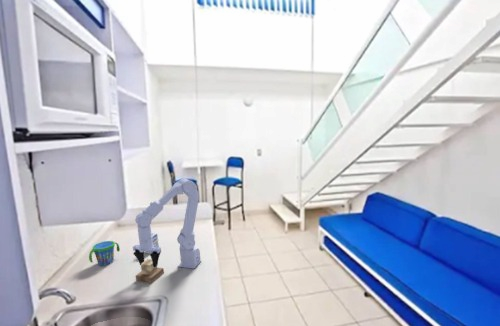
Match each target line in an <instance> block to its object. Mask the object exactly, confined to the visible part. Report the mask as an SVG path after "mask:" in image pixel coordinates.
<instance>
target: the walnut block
mask: <svg viewBox="0 0 500 326" xmlns="http://www.w3.org/2000/svg"><path fill="white" fill-rule="evenodd" d="M164 274H165V270H164V268H163V267H158V266H157V270H156V271H155V272H154V273H153V274H152V275H145V274H142V271H139V272H138V273H137V274H136V275H135V281H136V282H141V283H148V284H154V282H156V281H157V280H158V279H159V278H160V277H162V275H164Z"/></svg>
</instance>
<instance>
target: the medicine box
mask: <svg viewBox="0 0 500 326" xmlns="http://www.w3.org/2000/svg"><path fill="white" fill-rule="evenodd" d="M151 234H152V242H153V245H154V246H157V247H160V245H159V239H158V233H151ZM152 253H153V252H149V251H146V252H144V254H152Z"/></svg>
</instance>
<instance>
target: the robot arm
mask: <svg viewBox="0 0 500 326" xmlns="http://www.w3.org/2000/svg"><path fill="white" fill-rule="evenodd" d="M183 194H185V195H186V197H187V202H186V203H187V204H186V208H185V214H184V219H183V226H182V228H181V229H180V231H179V234H178V236H177V239H176V240H177V243H178V244H179V255H180V256H179V258H180V263H178V265H177V267H178V268H185V269H195V268H196V267H197V266H198V265H199V264H201V262H202V260H201V252H200V249H199V248H198V247H196V246H195V245H196V239H195V237H196V235H195V231H194V229H195V222H196V218H197V217H196V216H197V211H198V206H199V205H198V204H199V200H200V194H199V191H198V188H197V184H196V183H195V182H194V181H192V180H190V179H187V178H185V177H183V178H182V177H181V178H180V179H178V180H177V181H176V182H175V183H174V184H173V185H172V186H171V187H170V188H169V189H168V190H167V191H166V193H164V195H162V197H160V199H159V200H154V201H151V202H150V203H149V205H148V206H147V207H146V208H145V209H143V210H142V211H141V212H140V213H137V215H136V217H135V219H134V221H135V223H136V224H137V235H138V241H139V242H138V243H139V244H135V245H133V246H132V251H134V252H133V256H135V258H136V259H137V261H138V263H139V265H140V266H141V264H142V263H143V262H144V261H145V252H146V251H149V252H153V253H149V257H150V258H151V260H152V262H153V267H156V266H157V267H158V264H159V258H160V254H161V253H162V247H161V246H159V247H157V246H154V245H153V242H152V234H153V233H152V229H151V224H152V221H153V220H154V218H156V217H157V216H158V215H159V214H160V213H161V212H162V211H163V210H164V206H165V205H166V204H167V203H169V202H170V201H171V200H172V199H174V198H175V196H178V195H183Z"/></svg>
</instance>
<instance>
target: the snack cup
mask: <svg viewBox="0 0 500 326" xmlns="http://www.w3.org/2000/svg"><path fill="white" fill-rule="evenodd" d="M115 245H116V251H117V252H120V245H119V244H118V243H117V242H116V241H113V240H106V241H101V242H97V243H95V244H94V245H93V246H92V249H91V250H90V251H89V255H88V260H89V262H90V263H93V256H92V255H93V254H94V255H95V259H96V262H97V264H98V265H99V266H107V265H110V264H111V263H113V262H114V259H115V258H114V257H115Z"/></svg>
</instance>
